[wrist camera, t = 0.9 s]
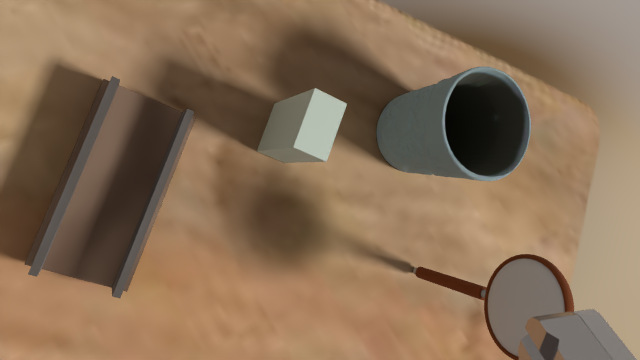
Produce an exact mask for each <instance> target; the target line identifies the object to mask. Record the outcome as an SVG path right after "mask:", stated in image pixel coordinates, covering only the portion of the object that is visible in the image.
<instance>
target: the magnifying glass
mask: <svg viewBox="0 0 640 360" xmlns="http://www.w3.org/2000/svg"><path fill="white" fill-rule="evenodd" d="M413 273H414V274H416V276H417V277H418V278H421V279H424V280H427V281H430V282H432V283H435V284H438V285H441V286H444V287H447V288H450V289H452V290H455V291H458V292H461V293H464V294H467V295H469V296H472V297H475V298H478V299H481V300H484V311H485V319H486V323H487V327H488V329H489V332H490V334H491V336H492V338H493V340H494V342H495V343H496V345H497V346H498V347H499V348H500V349H501V350H502V351H503V352H504V353H505V354H506V355H508V356H509V357H510V358H512V359H514V360H519V357H518V347H519V344H520V340H521V339H522V338H524V337H525V336H526V335H527V334H528V332H527V330H526V329H525V326H526V323H527V320H529V319H530V318H531V317H535V316H542V315H549V314H556V313H563V312H574V303H573V297H572V293H571V290H570V288H569V285H568V283H567V281H566V279H565V278H564V276H563V275H562V273H561V272H560V271H559V270H558V269H557V267H556V266H554V265H553V264H552V263H551V262H549V261H548V260H546V259H544V258H542V257H539V256H536V255H530V254H521V255H516V256H513V257H511V258H509V259H507V260H505V261H504V262H503V263H502V264H500V265H499V267H498V268H497V269H496V270H495V271H494V273H493V275H492V276H491V278H490V280H489V283H488V286H487V288H486V287H484V286H480V285H477V284H474V283H471V282H468V281H464V280H461V279H458V278H455V277H452V276H449V275H445V274H442V273H439V272H436V271H433V270H429V269H426V268H423V267H418V268H414V270H413Z"/></svg>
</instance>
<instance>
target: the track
mask: <svg viewBox="0 0 640 360" xmlns="http://www.w3.org/2000/svg"><path fill="white" fill-rule="evenodd" d="M119 82H120V79H117V78H115V77H113V76H112V78H111V80H110V81H107V80H105V79H103V81H102V84H101V86H100V89H99V91H98V93H97V96H96V98H95V100H94V103H93V105H92V107H91V110H90V112H89V114H88V117H87V119H86V121H85V124H84V126H83V128H82V131H81V133H80V135H79V138H78V140H77V143H76V145H75V147H74V150H73V152H72V154H71V157H70V159H69V161H68V164H67V166H66V168H65V171H64V173H63V175H62V178H61V180H60V182H59V185H58V187H57V189H56V192H55V194H54V197H53V199H52V201H51V204H50V206H49V208H48V211H47V213H46V215H45V218H44V220H43V222H42V225H41V227H40V229H39V232H38V234H37V236H36V239H35V241H34V243H33V246H32V248H31V251H30V253H29V255H28V258H27V260H26V262H25V265H29V266H31V269H30V271H29V273H28V274H29V275H33V276H38V274H39V272H40V271H41V269H44V270H48V271H51V272H55V273H59V274H63V275H66V276H70V277H74V278H77V279H81V280H85V281H89V282H92V283H96V284H100V285H104V286H107V287H111V288H112V296H113V297H117V298H120V297H121V295H122V292H123V291H126V292H127V290H128V288H129V285H130V282H131V280H132V277H133V275H134V272H135V270H136V267H137V265H138V262H139V260H140V257H141V255H142V252H143V250H144V247H145V245H146V242H147V240H148V237H149V235H150V232H151V230H152V227H153V224H154V222H155V219H156V217H157V214H158V212H159V209H160V207H161V204H162V202H163V199H164V197H165V194H166V192H167V189H168V187H169V184H170V182H171V179H172V177H173V174H174V172H175V169H176V166H177V164H178V161H179V159H180V156H181V154H182V151H183V149H184V146H185V144H186V141H187V139H188V136H189V134H190V131H191V129H192V126H193V124H194V121H195V119H196V118H195V117H192V116H193V114H194V111H192V110H190V109H186V110H185V111H183V112H180V111H178V110H176V109H173V108H171V107H169V106H166V105H164V104H161V103H159V102H157V101H154V100H152V99H150V98H147V97H145V96H143V95H140V94H138V93H136V92H133V91H131V90H128V89H126V88H124V87H121V86H119Z"/></svg>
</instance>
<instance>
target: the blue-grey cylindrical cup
mask: <svg viewBox="0 0 640 360" xmlns="http://www.w3.org/2000/svg"><path fill="white" fill-rule="evenodd" d="M530 132H531V120H530V113H529V108H528V104H527V101H526V98H525V96H524V94H523V92H522V90H521V89H520V87H519V86H518V84H517V83H516V82H515V81H514V80H513V79H512V78H511V77H510V76H509V75H507V74H506V73H504V72H503V71H500V70H497V69H494V68H491V67H476V68H472V69H469V70H467V71H464V72H462V73H460V74H457V75H455V76H453V77H451V78H449V79H444V80H441V81H440V82H438V83H437V84H433V85H431V86H427V87H424V88H421V89H418V90H414V91H411V92H408V93H406V94H403V95H400V96H398V97H396V98H394V99H393V100H392V101H390V102H389V103H388V105H387V106H386V107H385V108H384V110H383V111H382V113H381V115H380V117H379V120H378V123H377V129H376V134H377V142H378V146H379V149H380V151H381V153H382V155H383V157H384V158H385V159H386V161H387V162H388V163H389V164H390V165H392V166H393V167H395V168H396V169H398V170H400V171H403V172H408V173H419V174H427V175H432V174H434V175H436V176H444V177H455V178H465V179H471V180H479V181H495V180H498V179H501V178H503V177H505V176H507V175H508V174H510V173H511V172H512V171H513V170H514V169H515V168H516V167H517V166H518V165H519V163H520V162H521V160H522V159H523V157H524V155H525V152H526V150H527V147H528V143H529V139H530Z"/></svg>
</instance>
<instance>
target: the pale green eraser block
mask: <svg viewBox="0 0 640 360" xmlns="http://www.w3.org/2000/svg"><path fill="white" fill-rule="evenodd" d="M346 106H347V104H346V103H344V102H342V101H340V100H338V99H336V98H334V97H332V96H330V95H328V94H326V93H324V92H322V91H320V90H318V89H316V88H314V89H311V90H308V91H306V92H303V93H301V94H298V95H295V96H293V97H290V98H287V99H285V100H282V101H279V102H277V103H275V104H274V106H273V109H272V112H271V114H270V117H269V120H268V122H267V125H266V128H265V130H264V133H263V136H262V138H261V141H260V144H259V146H258V149H257V152H260V153H262V154H264V155H267V156H269V157H272V158H274V159H276V160H279V161H281V162H284V163H295V162H327V159H328V156H329V153H330V150H331V148H332V145H333V142H334V139H335V136H336V134H337V131H338V128H339V125H340V122H341V120H342V117H343V114H344V111H345V108H346Z"/></svg>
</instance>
